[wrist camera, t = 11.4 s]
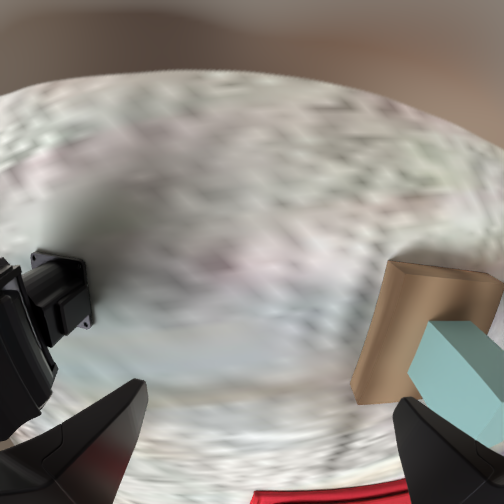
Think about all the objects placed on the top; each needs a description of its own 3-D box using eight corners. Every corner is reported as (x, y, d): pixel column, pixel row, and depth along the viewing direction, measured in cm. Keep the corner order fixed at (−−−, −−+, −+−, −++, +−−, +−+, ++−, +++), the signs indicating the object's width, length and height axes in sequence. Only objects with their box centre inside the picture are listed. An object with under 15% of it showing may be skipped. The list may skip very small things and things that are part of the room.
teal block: (407, 372, 20) (458, 460, 10) (428, 320, 19) (501, 402, 9) (449, 368, 20) (502, 441, 10) (470, 320, 19) (540, 387, 9)
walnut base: (349, 383, 24) (357, 404, 21) (387, 260, 21) (404, 273, 18) (445, 376, 24) (457, 392, 21) (486, 273, 21) (505, 284, 18)
